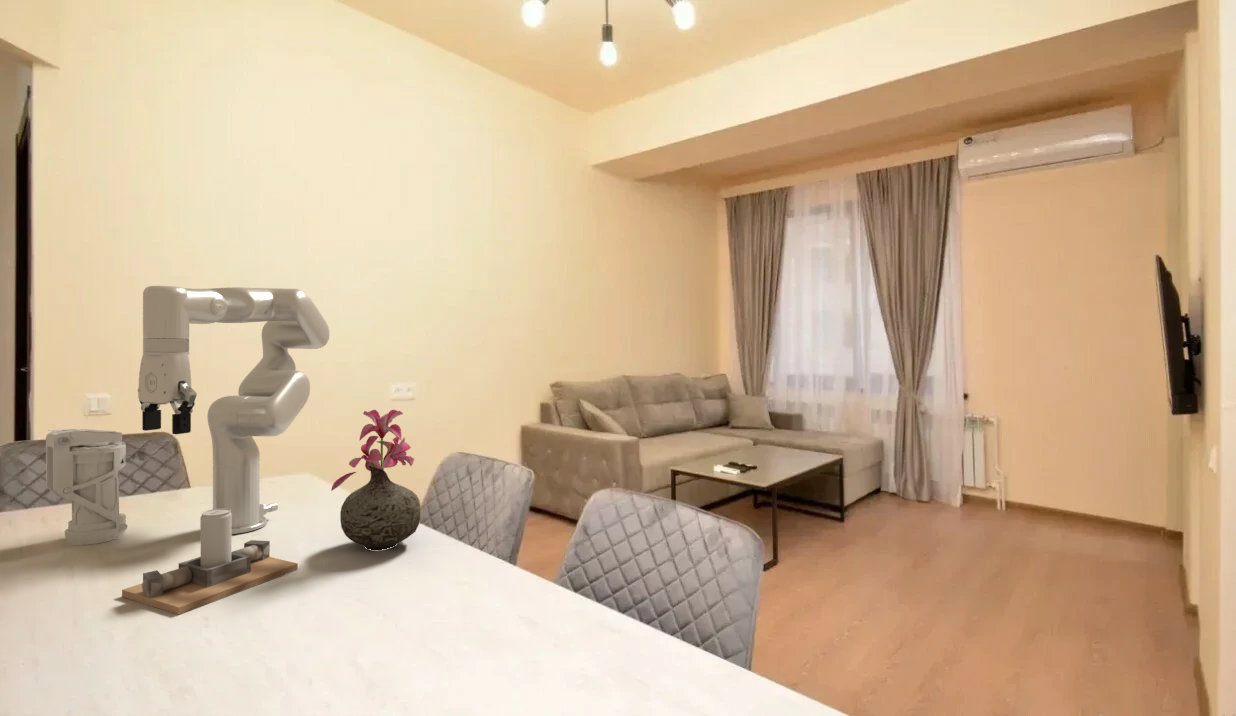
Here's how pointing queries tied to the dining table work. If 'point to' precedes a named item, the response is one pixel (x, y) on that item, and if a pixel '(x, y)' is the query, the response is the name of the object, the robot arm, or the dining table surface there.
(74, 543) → the lantern
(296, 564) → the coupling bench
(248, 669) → the dining table surface
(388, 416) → the vase
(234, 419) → the robot arm
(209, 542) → the beverage can
